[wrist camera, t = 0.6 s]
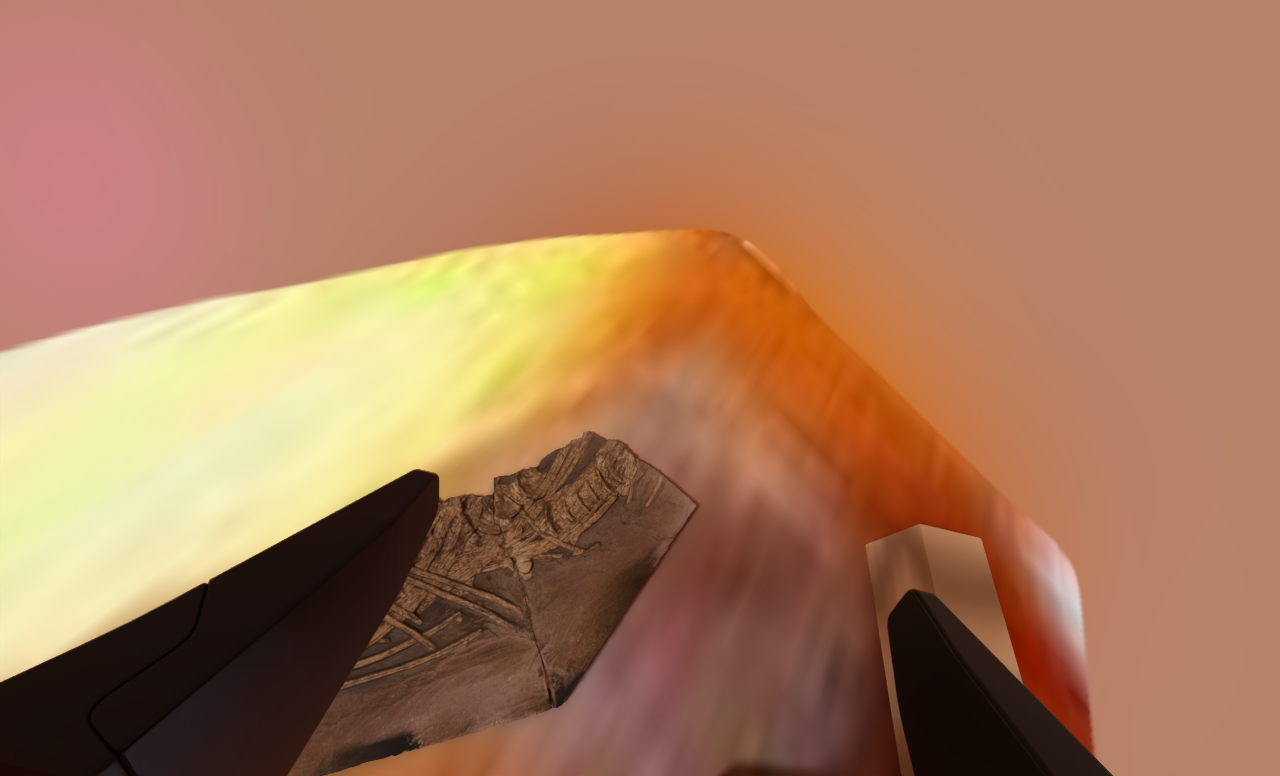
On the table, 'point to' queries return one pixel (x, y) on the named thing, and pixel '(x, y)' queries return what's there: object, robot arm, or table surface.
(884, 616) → the birch rod
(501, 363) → the table surface
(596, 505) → the wooden fragment
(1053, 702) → the table surface
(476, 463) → the table surface
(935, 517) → the table surface
